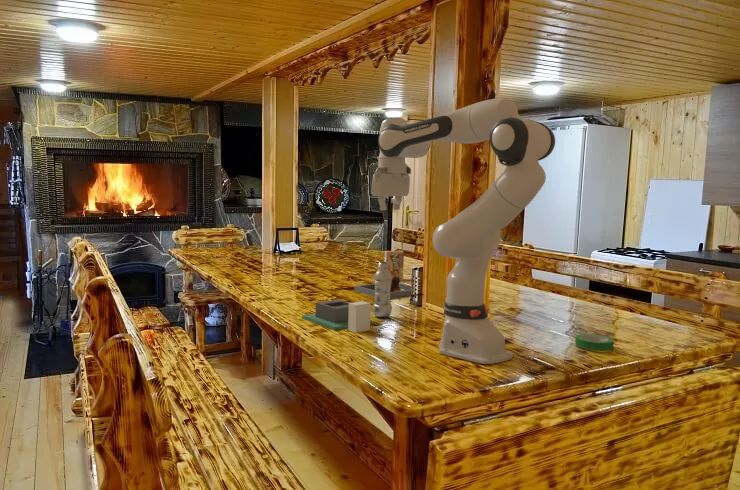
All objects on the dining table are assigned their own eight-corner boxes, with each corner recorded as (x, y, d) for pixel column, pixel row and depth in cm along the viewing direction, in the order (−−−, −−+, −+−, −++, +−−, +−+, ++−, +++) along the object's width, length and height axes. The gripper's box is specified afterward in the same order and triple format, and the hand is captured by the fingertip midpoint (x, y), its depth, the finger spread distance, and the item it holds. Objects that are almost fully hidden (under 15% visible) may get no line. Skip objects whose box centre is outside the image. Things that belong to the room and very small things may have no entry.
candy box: (400, 281, 289) (401, 250, 287) (403, 282, 285) (404, 251, 283) (383, 281, 287) (384, 250, 285) (385, 283, 283) (386, 251, 281)
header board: (372, 323, 201) (372, 306, 200) (334, 330, 191) (335, 312, 190) (338, 312, 216) (338, 296, 215) (302, 318, 206) (302, 301, 205)
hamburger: (399, 298, 247) (400, 275, 245) (370, 296, 249) (371, 273, 248) (404, 291, 262) (405, 269, 261) (377, 290, 264) (377, 268, 263)
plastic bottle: (389, 319, 207) (391, 264, 205) (371, 318, 208) (372, 263, 206) (392, 315, 213) (394, 261, 211) (374, 314, 215) (376, 260, 213)
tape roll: (575, 339, 188) (576, 331, 188) (612, 344, 184) (613, 335, 184) (574, 348, 178) (575, 340, 177) (613, 353, 174) (614, 344, 173)
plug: (369, 330, 192) (370, 303, 191) (355, 332, 189) (356, 305, 188) (362, 327, 195) (363, 301, 194) (348, 329, 192) (348, 303, 191)
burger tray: (422, 295, 254) (423, 288, 254) (384, 300, 240) (384, 293, 240) (392, 287, 270) (392, 281, 269) (354, 292, 256) (354, 285, 256)
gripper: (384, 167, 181) (383, 211, 183) (413, 169, 199) (412, 209, 200) (367, 166, 184) (365, 210, 186) (397, 169, 202) (395, 208, 203)
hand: (390, 210), depth 193 cm, fingers open, 8 cm apart
